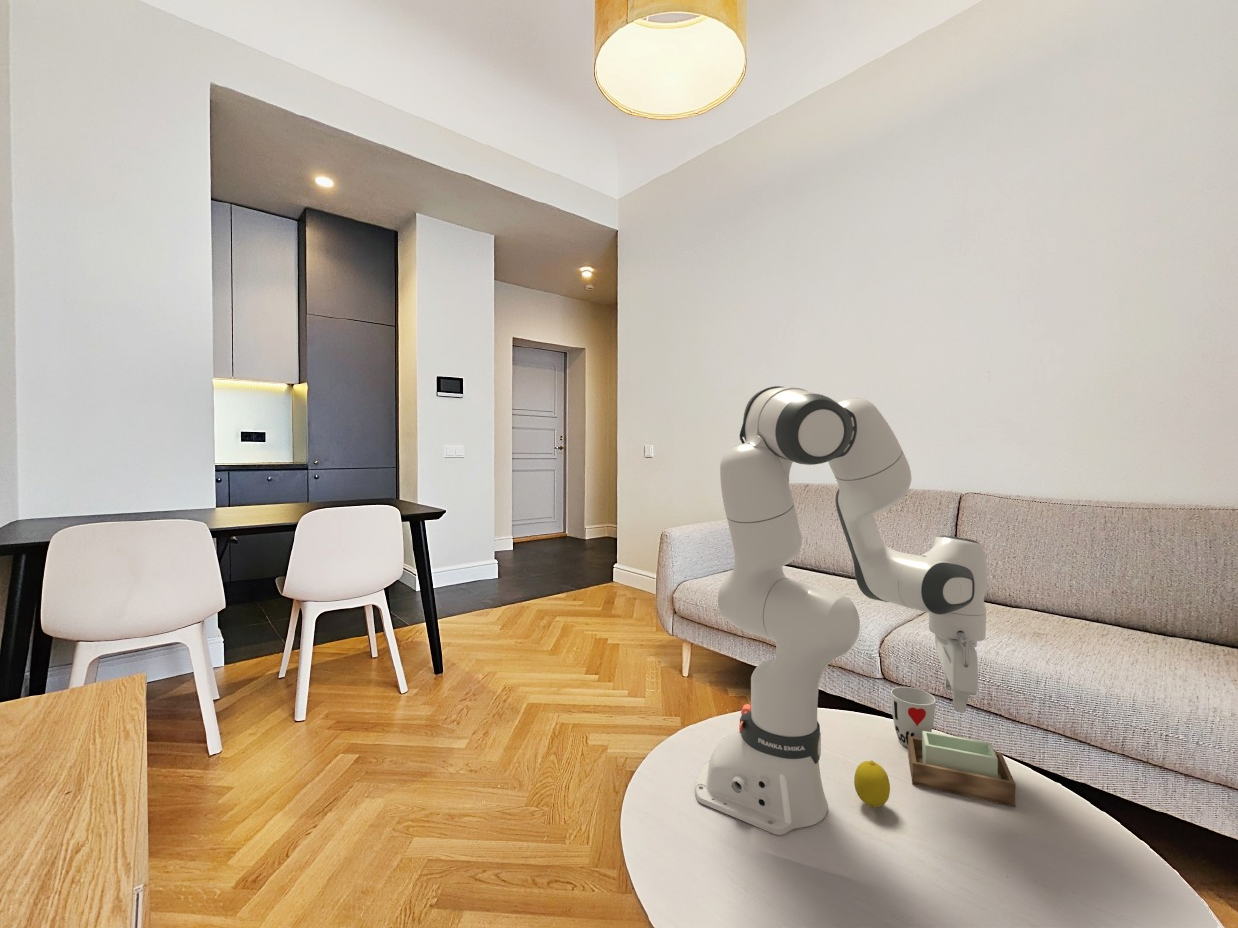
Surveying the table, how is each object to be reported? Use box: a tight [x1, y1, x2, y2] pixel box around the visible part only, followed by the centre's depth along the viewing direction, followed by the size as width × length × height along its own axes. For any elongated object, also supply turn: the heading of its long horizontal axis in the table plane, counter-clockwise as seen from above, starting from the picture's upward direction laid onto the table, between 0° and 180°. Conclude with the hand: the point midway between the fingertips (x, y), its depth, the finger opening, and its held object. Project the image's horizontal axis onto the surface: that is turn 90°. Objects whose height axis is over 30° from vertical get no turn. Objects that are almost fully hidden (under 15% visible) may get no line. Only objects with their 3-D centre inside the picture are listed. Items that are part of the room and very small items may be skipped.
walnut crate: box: [907, 736, 1017, 808], centre depth 98 cm, size 15×10×4 cm, turn 65°
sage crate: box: [922, 731, 998, 778], centre depth 98 cm, size 11×6×6 cm, turn 66°
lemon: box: [853, 760, 891, 809], centre depth 91 cm, size 6×6×8 cm
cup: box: [890, 686, 937, 748], centre depth 110 cm, size 8×8×10 cm
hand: (954, 699), depth 98 cm, fingers open, 8 cm apart
